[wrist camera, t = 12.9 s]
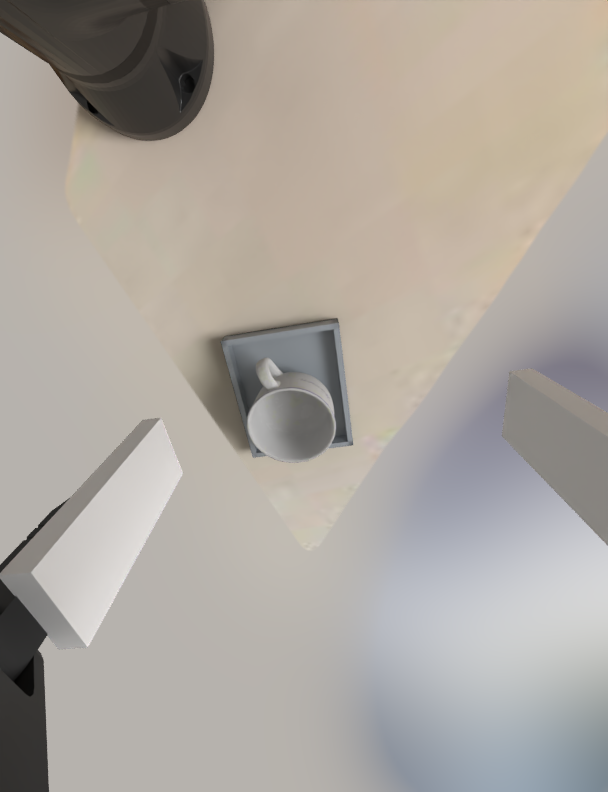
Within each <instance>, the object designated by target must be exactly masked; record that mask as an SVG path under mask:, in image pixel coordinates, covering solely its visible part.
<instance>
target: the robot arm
mask: <svg viewBox="0 0 608 792" xmlns="http://www.w3.org/2000/svg"><path fill="white" fill-rule="evenodd" d="M0 32H1V33H2V34H4V35H6V36H7V37H8V38H10V39H12V40H13V41H15V42H16V43H18V44H19V45H21V46H22V47H24V48H25V49H27V50H28V51H30V52H32V53H33V54H35V55H36V56H38V57H39V58H41V59H42V60H44V61H46V62H47V63H49V64H50V66H51V67H52V68H53V70H54V71H55V73H56V74H57V76H58V77H59V78H60V80H61V81H62V82H63V84H64V85H65V87H66V88H67V89H68V91H69V92H70V93H71V95H72V96H73V97H74V98H75V99H76V100H77V102H78V103H79V104H80V105H81V106H82V107H83V108H84V109H85V110H86V111H88V112H89V113H90V114H91V115H92V116H93V117H95V118H96V119H97V120H99V121H100V122H102V123H103V124H105V125H107V126H108V127H110V128H112V129H114V130H115V131H117V132H119V133H121V134H123V135H126V136H128V137H131V138H135V139H139V140H149V141H152V140H161V139H165V138H168V137H171V136H173V135H175V134H177V133H179V132H180V131H182V130H183V129H184V128H186V127H187V126H188V125H189V124H190V123H191V122H192V121H193V119H194V118H195V117H196V116H197V114H198V113H199V111H200V109H201V108H202V106H203V104H204V102H205V99H206V97H207V94H208V91H209V88H210V84H211V80H212V74H213V65H214V43H213V34H212V28H211V23H210V18H209V14H208V11H207V7H206V5H205V2H204V0H0ZM502 437H503V438H504V439H505V440H506V441H507V442H508V443H509V444H510V445H511V446H512V447H513V448H514V449H515V450H516V451H517V452H518V453H519V454H520V455H521V456H522V457H523V458H524V460H525V461H526V462H527V463H528V464H529V465H530V466H531V467H532V468H533V469H534V470H535V471H536V472H537V473H538V474H539V475H540V476H541V477H542V478H543V479H544V480H545V481H546V482H547V483H548V484H549V485H550V486H551V487H552V488H553V489H554V491H555V492H556V493H557V494H558V495H559V496H560V497H561V498H562V499H563V500H564V501H565V502H566V503H567V504H568V505H569V506H570V507H571V508H572V509H573V510H574V511H575V512H576V513H577V514H578V515H579V516H580V517H581V518H582V519H583V520H584V522H586V524H587V525H588V526H589V527H590V528H591V529H592V530H593V531H594V532H595V533H596V534H597V535H598V536H599V537H600V538H601V539H602V540H603V541H604V542H605V543H606V544H607V545H608V413H607V412H605V411H604V410H602V409H600V408H598V407H597V406H595V405H593V404H592V403H590V402H588V401H586V400H585V399H583V398H581V397H580V396H578V395H576V394H575V393H573V392H571V391H569V390H568V389H566V388H564V387H562V386H561V385H559V384H557V383H556V382H554V381H552V380H551V379H549V378H547V377H545V376H544V375H542V374H540V373H539V372H537V371H535V370H534V369H524V370H517V371H510V372H509V380H508V389H507V397H506V405H505V414H504V423H503V432H502ZM182 474H183V472H182V469H181V467H180V464H179V462H178V459H177V457H176V454H175V452H174V449H173V446H172V444H171V441H170V439H169V436H168V434H167V431H166V429H165V426H164V423H163V421H162V418H155V419H147V420H142V421H141V422H140V423H139V425H138V426H137V427H136V428H135V429H134V430H133V431H132V432H131V433H130V434H129V435H128V436H127V438H126V439H125V440H124V441H123V442H122V443H121V444H120V445H119V446H118V447H117V448H116V449H115V450H114V451H113V452H112V454H111V455H110V456H109V457H108V458H107V459H106V460H105V461H104V462H103V463H102V464H101V465H100V466H99V468H98V469H97V470H96V471H95V472H94V473H93V474H92V475H91V476H90V477H89V478H88V479H87V480H86V481H85V482H84V484H83V485H82V486H81V487H80V488H79V489H78V490H77V491H76V492H75V493H74V494H73V495H72V497H71V498H69V499H68V500H66V501H65V502H63V503H62V504H61V505H59V506H58V507H57V508H55V509H54V510H52V511H51V512H50V513H49V515H47V517H46V518H45V519H44V520H43V521H42V522H41V523H40V524H39V525H38V528H35V529H34V530H33V531H32V532H31V533H30V534H29V535H28V536H27V540H24V541H23V542H22V543H21V544H20V545H19V546H18V547H17V548H16V549H15V550H14V551H13V552H12V553H11V554H10V555H9V556H8V557H7V558H6V559H5V561H4V562H3V563H2V564H1V565H0V792H49V784H48V760H47V737H46V713H45V712H46V710H45V686H44V665H43V664H44V661H43V658H42V655H41V653H40V652H39V651H38V648H39V647H40V645H41V644H42V642H43V641H44V639H45V638H46V636H48V637H49V638H50V639H51V641H52V642H53V643H54V644H55V645H56V647H57V648H58V649H71V648H72V649H73V648H86V647H88V646H89V644H90V642H91V641H92V639H93V637H94V635H95V633H96V631H97V629H98V628H99V626H100V624H101V622H102V620H103V619H104V617H105V615H106V613H107V611H108V610H109V608H110V606H111V604H112V602H113V600H114V599H115V597H116V595H117V593H118V591H119V589H120V588H121V586H122V584H123V582H124V580H125V578H126V577H127V575H128V573H129V571H130V569H131V568H132V566H133V564H134V562H135V560H136V558H137V557H138V555H139V553H140V551H141V549H142V547H143V546H144V544H145V542H146V540H147V538H148V536H149V535H150V533H151V531H152V529H153V527H154V525H155V524H156V522H157V520H158V518H159V516H160V515H161V513H162V511H163V509H164V507H165V505H166V504H167V502H168V500H169V498H170V496H171V494H172V493H173V491H174V489H175V487H176V485H177V483H178V481H179V480H180V478H181V476H182Z"/></svg>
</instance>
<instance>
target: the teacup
mask: <svg viewBox="0 0 608 792" xmlns="http://www.w3.org/2000/svg"><path fill="white" fill-rule="evenodd" d="M256 373H257V376H258V378H259V380H260V382H261V383H262V385H263V387H262V389H261V390H260V392H259V393H258V395H257V397H256V399H255V402H254V404H253V405H252V406H251V408H250V410H249V413H248V417H247V429H248V434H249V436H250V438H251V440H252V442H253V443H254V445H255V446H256V447H257V448H258V449H259V450H260V451H261V452H262V453H264V454H265V455H267V456H269V457H271V458H273V459H275V460H278V461H282V462H289V463H299V462H305V461H309V460H311V459H314V458H316V457H318V456H320V455H321V454H323V453H324V452H325V451H326V450H327V449H328V448H329V446H330V445H331V444H332V441H333V439H334V436H335V432H336V421H335V416H334V406H333V402H332V398H331V395H330V393H329V391H328V390H327V388H326V387H325V386H324V385H323V384H322V383H321V382H320V381H319V380H318V379H316V378H315V377H313V376H311V375H308V374H305V373H301V372H287V373H282V371H280V370H279V369H278V367H277V366H276V365H275V364H274V362H273V361H272V360H271V359H269V358H263V359H261V360H259V361H258V362H257V363H256Z"/></svg>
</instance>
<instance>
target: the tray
mask: <svg viewBox="0 0 608 792" xmlns="http://www.w3.org/2000/svg"><path fill="white" fill-rule="evenodd" d="M221 344H222V348H223V352H224V355H225V359H226V363H227V366H228V370H229V373H230V377H231V381H232V384H233V388H234V391H235V395H236V399H237V402H238V406H239V409H240V413H241V417H242V420H243V424H244V427H245V431H246V435H247V438H248V442H249V445H250V449H251V453H252V456H253V458H254V457H262V456H267V455H265V454H264V453H262V452H261V451H260V450H259V449H258V448H257V447H256V446H255V445H254V443H253V442H252V440H251V438H250V436H249V434H248V429H247V417H248V413H249V410H250V408H251V406H252V405H253V404H254V402H255V399H256V397H257V395H258V393H259V392H260V390H261V389H262V387H263V385H262V383H261V382H260V380H259V378H258V376H257V373H256V363H257V362H258V361H259V360H261V359H263V358H269V359H271V360H272V361H273V362H274V364H275V365H276V366H277V367H278V369H279V370H280V371H282V373H287V372H301V373H305V374H308V375H311V376H313V377H315V378H316V379H318V380H319V381H320V382H321V383H322V384H323V385H324V386H325V387H326V388H327V390H328V391H329V393H330V395H331V398H332V402H333V406H334V416H335V421H336V432H335V436H334V439H333V441H332V444H331V445H330V446H329V448H335V447H343V446H351V445H353V439H352V430H351V422H350V413H349V405H348V396H347V388H346V380H345V371H344V363H343V354H342V346H341V337H340V329H339V322H338V319H331V320H324V321H318V322H312V323H305V324H299V325H293V326H286V327H280V328H274V329H267V330H261V331H255V332H249V333H242V334H236V335H230V336H225V337H224V338H223V339H222V340H221Z"/></svg>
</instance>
